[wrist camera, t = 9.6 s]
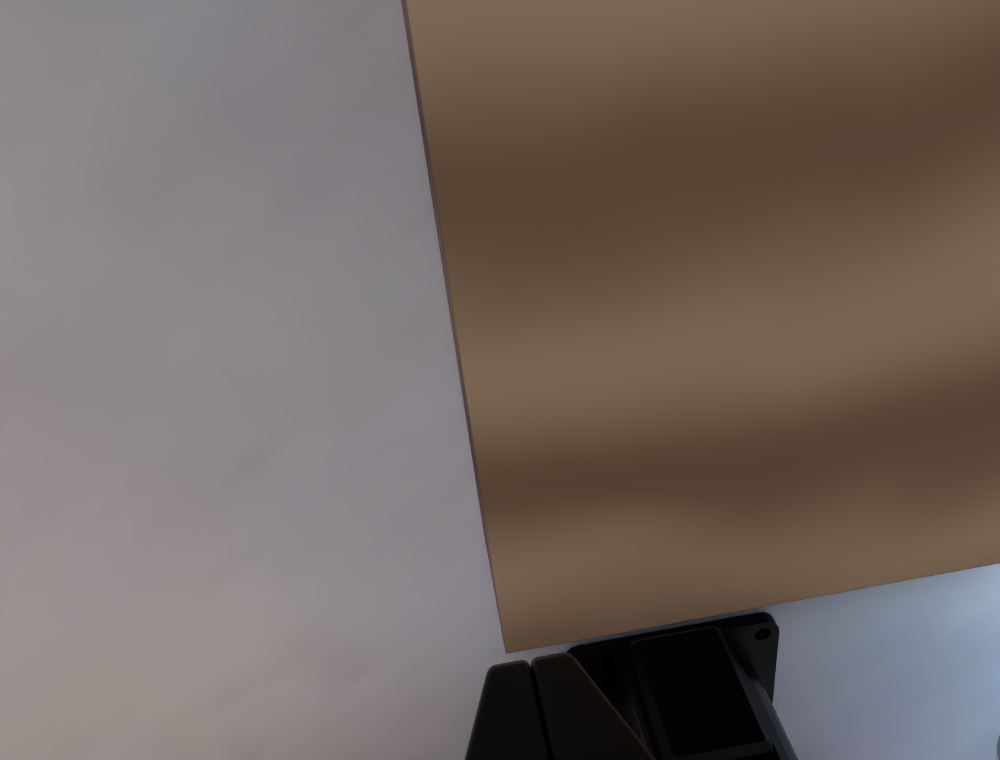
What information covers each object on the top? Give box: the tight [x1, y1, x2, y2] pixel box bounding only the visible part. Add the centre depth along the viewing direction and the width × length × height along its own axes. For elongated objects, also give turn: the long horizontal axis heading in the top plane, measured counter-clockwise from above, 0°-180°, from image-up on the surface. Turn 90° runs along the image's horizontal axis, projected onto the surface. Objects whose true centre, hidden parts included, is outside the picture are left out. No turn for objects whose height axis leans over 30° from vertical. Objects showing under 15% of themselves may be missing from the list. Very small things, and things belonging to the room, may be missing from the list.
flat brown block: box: [401, 0, 1000, 654], centre depth 17 cm, size 22×14×4 cm, turn 6°
